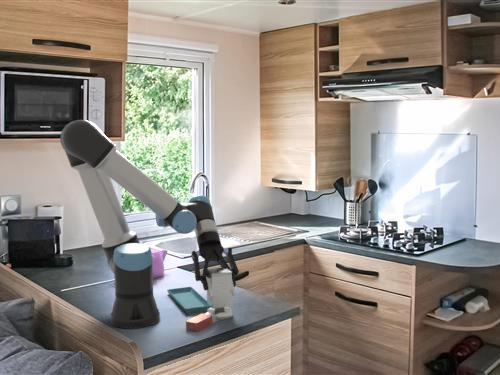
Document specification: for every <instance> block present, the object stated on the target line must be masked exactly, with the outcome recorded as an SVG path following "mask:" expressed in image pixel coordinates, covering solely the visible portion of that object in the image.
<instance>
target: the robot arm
mask: <svg viewBox="0 0 500 375" xmlns="http://www.w3.org/2000/svg"><path fill="white" fill-rule="evenodd" d="M60 145H61V147H62V149H63V150H64V152H65V155H66V157H67V160H68V162H69V165H70V167H71V168H72V169H73V170H75V171H77V172H78V174H79V177H80V179H81V182H82V184H83V187H84V190H85V192H86V195H87V197H88V200H89V203H90V206H91V208H92V210H93V214H94V216H95V219H96V221H97V223H98V226H99V229H100V230H101V234H102V236H103V239H104V241H103V242H102V244H101V246H102V249H103V252H104V254H105V257H106V259H107V260H106V262H107V265H108V267H109V269H110V270H111V271H112V273H113V274H114V275H113V276H114V293H115V298H114V302H113V306H112V310H111V311H112V312H111V313H110V324H111V325H112V326H114V328H115V327H116V328H119V329H140V328H145V327H150V326H151V325H152V326H153V325H155V324H157V323H158V322H159V321H160V320H161V315H160V309H159V308H158V305H157V303H156V299H155V296H154V279H153V270H152V260H153V256H152V252H151V249H152V248H151V247H150V246H148V245H146V244H142V243H140V241H139V238H138V235H137V233H136V232H135V231H133V230H130V227H129V224H128V221H127V219H126V216H125V214H124V212H123V208H122V206H121V204H120V200H119V199H118V196H117V193H116V190H115V187H114V185H113V182H112V180H113V181H114V182H115V183H116V184H118V185H119V186H120V187H121V188H123V189H124V190H125V191H127V192H128V193H129V194H130V195H131V196H132V197H134V198H135V199H136V200H138V201H139V203H141V204H143V205H144V206H145V207H146V208H147V209H149V210H150V211H151V212H152V213H154V214H155V223H156V226H158V227H160V228H162V227H163V228H167V227H170V228H171V229H173V230H174V231H175V232H177V233H179V234H182V235H188V234H190V233H192V232H193V231H194V234H195V238H196V242H197V246H198V250H197V251H195V250H193V251H192V252H191V255H190V258H191V259H192V261H193V270H194V278H195V281H196V282H200V283H201V284H202V287H203V290H204V291H206V293H207V292H208V296H209V301H211V300H212V299H213V293H212V288H211V284H210V280H209V278H207V279H206V276H207V269H209V263H211V262H217V264H219V265H220V268H223V267H225V268H227V269H229V270H230V271H231V272H232V299H234V298H235V296H236V294H237V293H236V289H235V288H236V286H237V283H236V278H237V277H238V275H239V272H240V271H239V268H238V265H237V263H236V261H235V258H234V256H233V249H232V247H228V248H224V247H223V244H222V242H221V238H220V235H219V230H218V227H217V223H216V220H215V216H214V215H215V214H214V211H213V206H212V204H211V201H210V199H209V198H208V197H207V196H206V195H202V194H197V195H196V196H192V197H191V198H190V199H189V200H188V202H187V203H180V201H178V200H177V199H176V198H174V197H173V196H172V195H171V194H170V193H169V192H167V190H165V189H164V188H163V187H162V186H160V185H159V184H158V183H157V182H155V181H154V180H153V179H152V178H151V177H149V176H148V175H147V174H146V173H145V172H144V171H142V170H141V169H140V168H139V167H137V166H136V165H135V164H134V163H133V162H131V161H130V160H129V158H127V157H125V155H123V154H122V153H121V152H120V151H118V150H117V148H116V144H115V143H114V142H113V141H112V140H111V139H109V138H108V137H107V136H106V135H105V133H104V132H103V131H102V130H101V129H100V128H99V127H98V126H97V125H96V123H94V122H92V121H90V120H85V119H77V120H73V121H72V120H71V122H68V123H67V124H66V125H65V126H64V127H63V129H62V130H61V132H60ZM150 248H151V249H150ZM223 253H224V254H225V257H226V259H227V261H228V263H227V261H226V260H225V258H224V256H223ZM199 257H201V258H202V259H204V260H203V269H202V274H201V268H200V261H199V259H200V258H199Z"/></svg>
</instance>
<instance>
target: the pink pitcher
mask: <svg viewBox="0 0 500 375" xmlns="http://www.w3.org/2000/svg"><path fill="white" fill-rule="evenodd" d="M149 248H150V249H151V252H152V256H153V260H152V270H153V280H154V279H157V278H162V277H163V276H164V273H165V265H164V264H165V263H164V261H165V259H166V256H167V254H168V250H166V249H162V250H159V249H158V250H157V249H155V248H151V247H149Z"/></svg>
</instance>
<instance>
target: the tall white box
mask: <svg viewBox="0 0 500 375" xmlns="http://www.w3.org/2000/svg"><path fill="white" fill-rule="evenodd" d="M207 278H209V280H210V284H211V288H212V293H213V299H212V300H211V301H209V296H208V292H207V291H206V300H207V303H208V304H209V305H210V306H211V308H212V309H214V308H222V307H230V308H231V307H234V306H233V298H232V272H231V271H230V270H229V269H227V268H225V267H223V268H222V267H217V268H216V267H215V268H214V267H213V268H208V269H207V276H206V279H207Z"/></svg>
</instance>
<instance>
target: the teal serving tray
mask: <svg viewBox="0 0 500 375" xmlns="http://www.w3.org/2000/svg"><path fill="white" fill-rule="evenodd" d="M167 292H168V294H169V295H170V297H171V298H172V299H173V301H175V302H176V303H177V305H178V306H179V305H180V306H179V307H180V308H181V309H182V310H183V311H184V312H185V313H186V314H195V313H197V312H198V313H203V312H207V310H208V309H209V308H211V306H210V305H209V304H208V303H207V299H206V298H205V297H203V296H202V295H201V294H200V293H199V291H197V290H196V289H195V288H193V287H192V286H185V287H179V288H169V289H167Z"/></svg>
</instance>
